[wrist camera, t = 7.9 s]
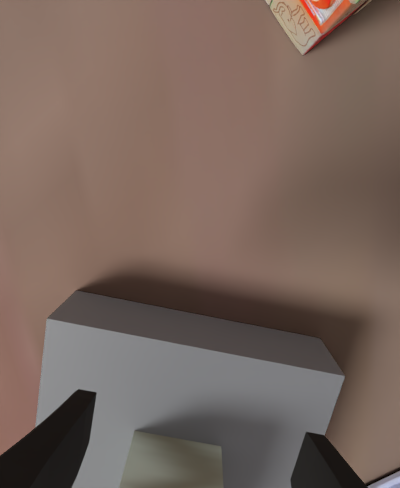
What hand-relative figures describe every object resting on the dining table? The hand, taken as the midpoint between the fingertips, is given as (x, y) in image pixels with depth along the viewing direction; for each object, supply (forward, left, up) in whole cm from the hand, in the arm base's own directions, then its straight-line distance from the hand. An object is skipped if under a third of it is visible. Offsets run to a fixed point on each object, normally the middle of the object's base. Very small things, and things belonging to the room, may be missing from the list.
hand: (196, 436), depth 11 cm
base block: (-6, +6, -10) cm, 13 cm away
